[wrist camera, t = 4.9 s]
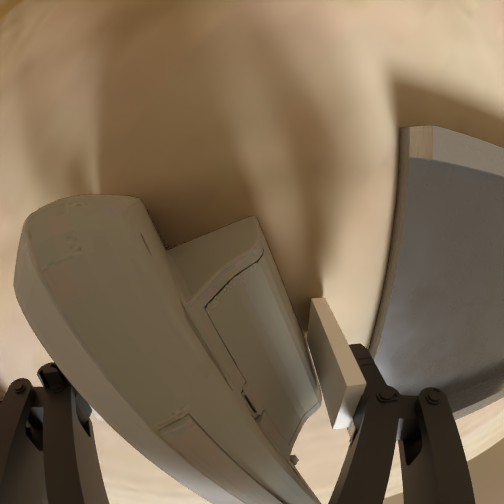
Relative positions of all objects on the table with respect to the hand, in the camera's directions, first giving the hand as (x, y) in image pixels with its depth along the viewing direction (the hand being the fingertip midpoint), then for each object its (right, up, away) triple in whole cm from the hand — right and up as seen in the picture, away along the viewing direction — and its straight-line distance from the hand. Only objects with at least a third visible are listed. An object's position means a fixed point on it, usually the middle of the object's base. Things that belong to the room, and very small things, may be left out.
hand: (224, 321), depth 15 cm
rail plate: (+19, 0, +1) cm, 19 cm away
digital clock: (-1, 0, 0) cm, 1 cm away
